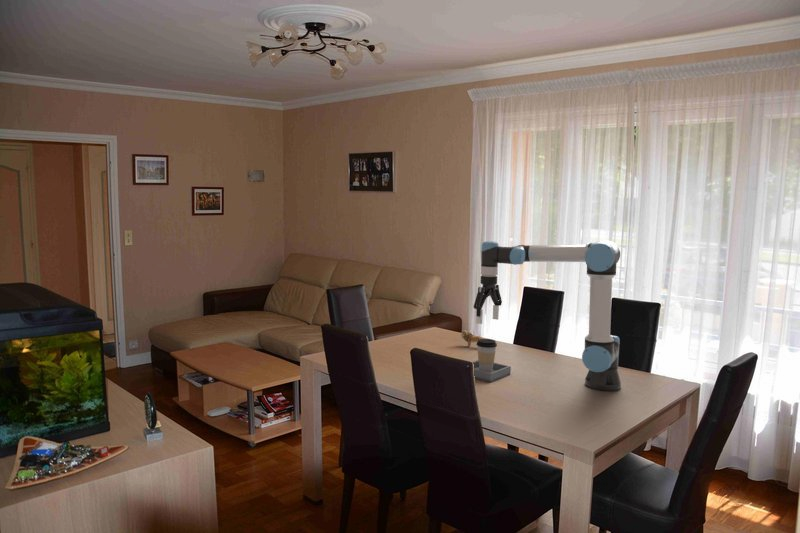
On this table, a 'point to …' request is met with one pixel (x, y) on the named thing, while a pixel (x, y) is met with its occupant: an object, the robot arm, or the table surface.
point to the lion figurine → (470, 337)
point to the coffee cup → (486, 354)
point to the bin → (497, 372)
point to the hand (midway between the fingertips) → (487, 321)
